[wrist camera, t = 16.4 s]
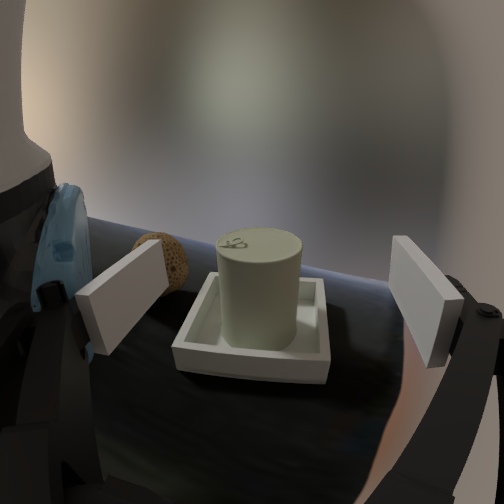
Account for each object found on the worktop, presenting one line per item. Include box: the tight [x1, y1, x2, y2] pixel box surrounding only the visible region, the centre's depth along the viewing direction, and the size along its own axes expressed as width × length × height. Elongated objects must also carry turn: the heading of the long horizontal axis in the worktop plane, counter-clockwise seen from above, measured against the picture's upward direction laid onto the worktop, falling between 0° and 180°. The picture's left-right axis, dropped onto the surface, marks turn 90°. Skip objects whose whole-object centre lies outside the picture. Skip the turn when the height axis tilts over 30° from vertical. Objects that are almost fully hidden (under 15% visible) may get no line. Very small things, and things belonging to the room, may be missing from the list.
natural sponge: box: [131, 232, 188, 297], centre depth 43 cm, size 9×9×10 cm
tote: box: [172, 272, 331, 384], centre depth 37 cm, size 16×16×4 cm
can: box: [216, 227, 303, 351], centre depth 35 cm, size 9×9×12 cm
